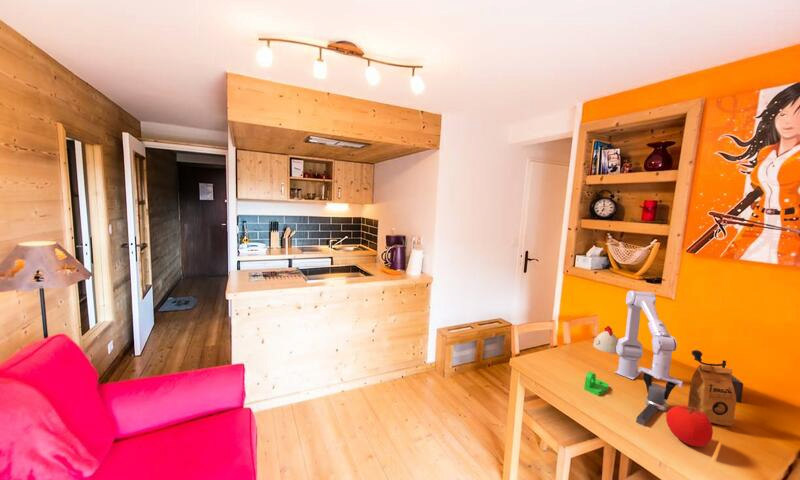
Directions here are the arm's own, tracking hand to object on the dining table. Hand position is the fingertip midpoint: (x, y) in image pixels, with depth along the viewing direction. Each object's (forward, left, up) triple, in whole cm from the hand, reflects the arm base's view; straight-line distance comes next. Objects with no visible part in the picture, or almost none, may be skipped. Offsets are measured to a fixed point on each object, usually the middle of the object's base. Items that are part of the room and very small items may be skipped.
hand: (657, 395), depth 135 cm
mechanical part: (+7, -20, -5) cm, 22 cm away
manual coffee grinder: (-36, +12, -5) cm, 38 cm away
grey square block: (0, 0, -2) cm, 2 cm away
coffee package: (-8, +15, -5) cm, 18 cm away
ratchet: (0, 0, -5) cm, 5 cm away
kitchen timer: (-45, -35, -5) cm, 57 cm away
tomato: (+17, +13, -5) cm, 22 cm away
